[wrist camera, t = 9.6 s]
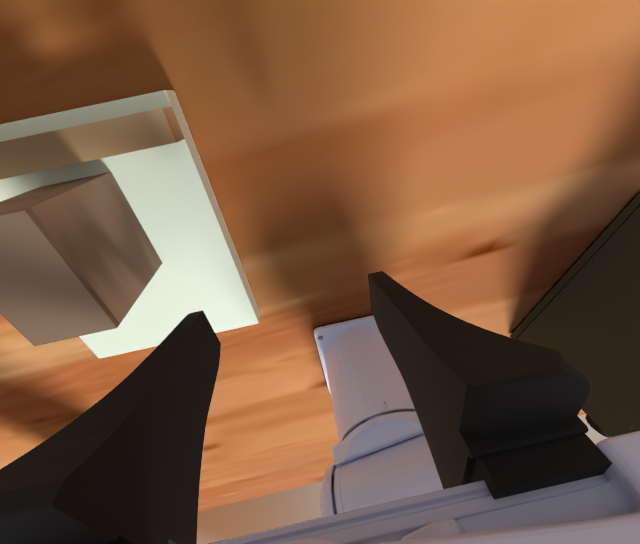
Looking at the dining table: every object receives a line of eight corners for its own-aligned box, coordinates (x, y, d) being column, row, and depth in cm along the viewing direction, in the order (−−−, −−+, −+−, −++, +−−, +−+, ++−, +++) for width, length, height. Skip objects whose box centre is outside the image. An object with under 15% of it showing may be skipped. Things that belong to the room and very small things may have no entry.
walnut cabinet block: (162, 263, 19) (117, 328, 13) (103, 275, 19) (34, 346, 13) (111, 171, 16) (24, 210, 10) (39, 186, 15) (-85, 233, 10)
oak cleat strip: (184, 138, 15) (176, 142, 14) (-55, 189, 15) (-85, 197, 14) (171, 107, 14) (161, 108, 13) (-82, 160, 14) (-117, 166, 13)
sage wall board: (259, 311, 24) (258, 323, 23) (108, 344, 24) (99, 358, 22) (174, 90, 15) (164, 90, 14) (-65, 140, 15) (-96, 144, 14)
